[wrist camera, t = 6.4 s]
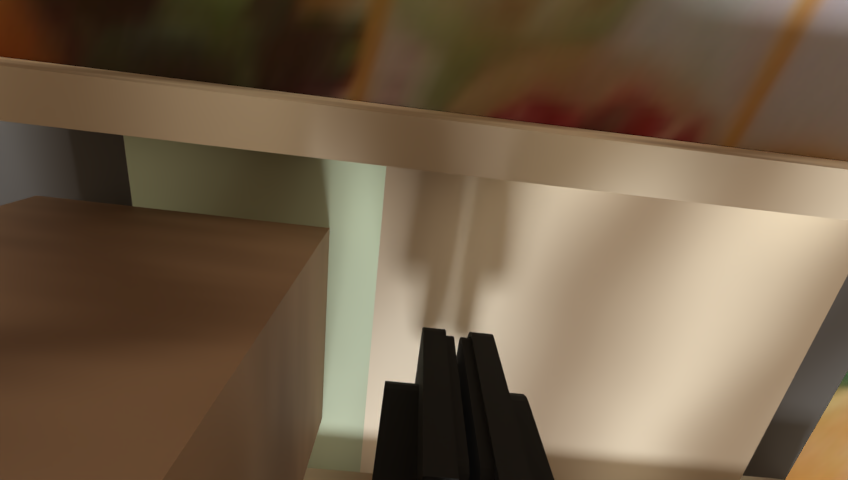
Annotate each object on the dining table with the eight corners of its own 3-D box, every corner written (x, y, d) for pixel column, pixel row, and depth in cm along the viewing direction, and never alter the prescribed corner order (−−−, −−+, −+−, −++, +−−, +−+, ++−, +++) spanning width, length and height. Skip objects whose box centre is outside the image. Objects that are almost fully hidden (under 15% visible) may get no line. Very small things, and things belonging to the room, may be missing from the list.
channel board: (946, 173, 11) (1162, 210, 8) (767, 491, 15) (859, 602, 12) (-136, 40, 10) (-407, 17, 7) (-13, 422, 14) (-144, 523, 11)
